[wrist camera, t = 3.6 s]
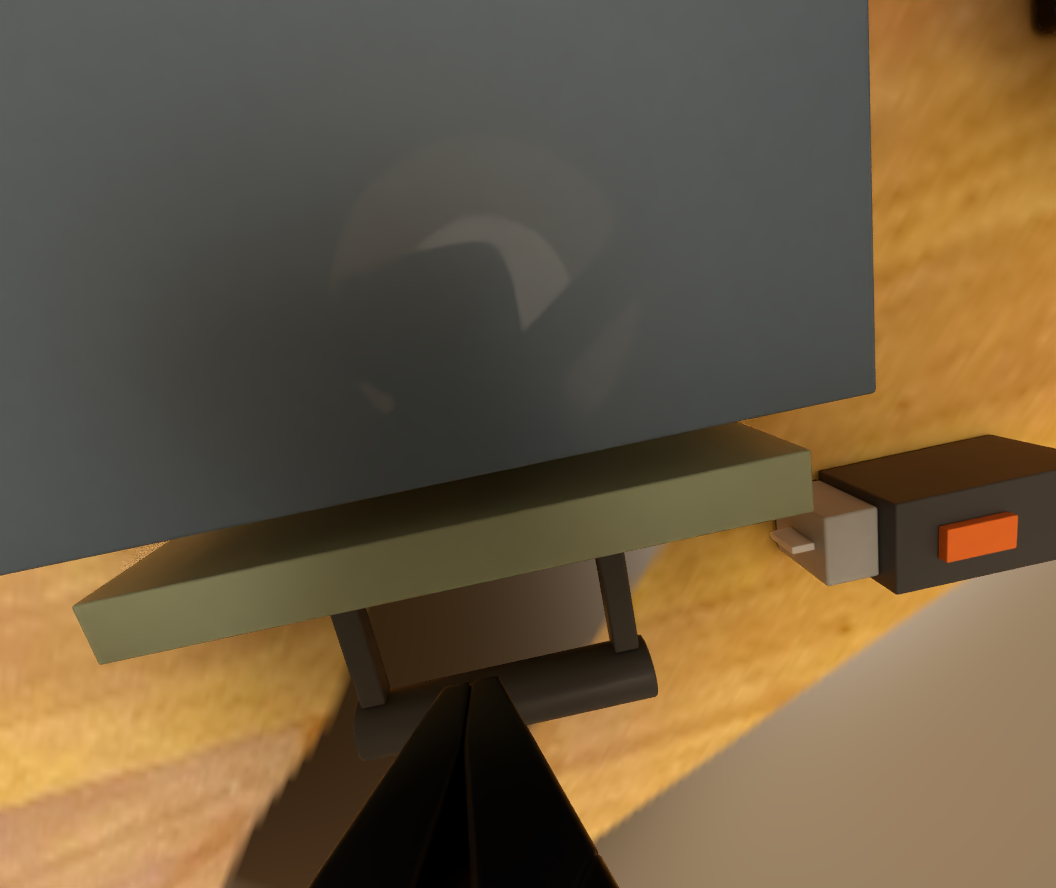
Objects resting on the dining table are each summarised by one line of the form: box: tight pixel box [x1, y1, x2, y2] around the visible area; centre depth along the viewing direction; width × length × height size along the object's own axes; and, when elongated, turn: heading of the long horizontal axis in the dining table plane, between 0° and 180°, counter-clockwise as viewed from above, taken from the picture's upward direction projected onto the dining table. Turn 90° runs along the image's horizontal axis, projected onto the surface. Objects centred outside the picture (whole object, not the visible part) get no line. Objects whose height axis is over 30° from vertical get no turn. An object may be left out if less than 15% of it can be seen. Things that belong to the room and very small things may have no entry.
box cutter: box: [770, 435, 1056, 594], centre depth 15 cm, size 8×3×4 cm, turn 101°
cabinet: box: [0, 0, 876, 576], centre depth 9 cm, size 14×14×8 cm
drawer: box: [73, 422, 814, 761], centre depth 11 cm, size 18×13×6 cm
